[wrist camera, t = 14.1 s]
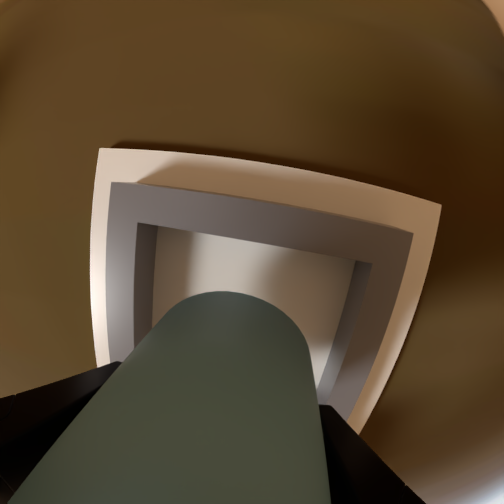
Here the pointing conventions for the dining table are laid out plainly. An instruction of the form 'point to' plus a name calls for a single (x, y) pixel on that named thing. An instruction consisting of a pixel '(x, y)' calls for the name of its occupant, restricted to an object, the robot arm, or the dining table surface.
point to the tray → (261, 258)
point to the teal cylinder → (197, 417)
